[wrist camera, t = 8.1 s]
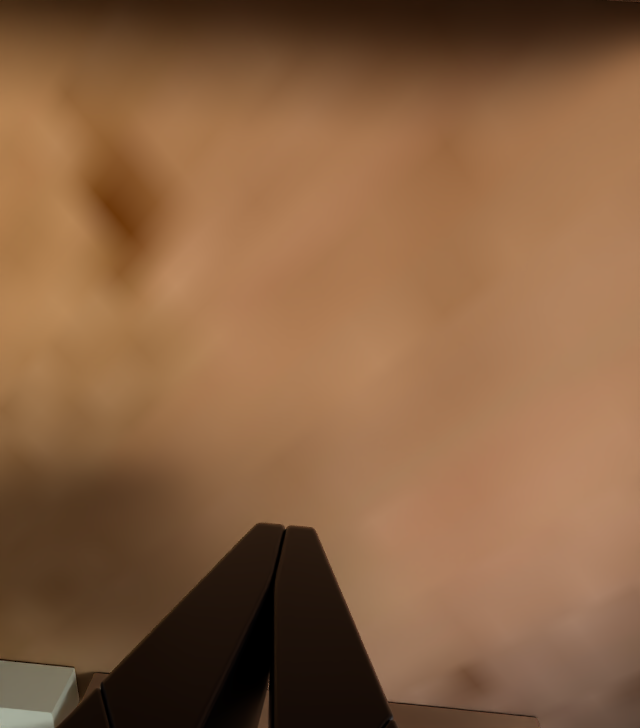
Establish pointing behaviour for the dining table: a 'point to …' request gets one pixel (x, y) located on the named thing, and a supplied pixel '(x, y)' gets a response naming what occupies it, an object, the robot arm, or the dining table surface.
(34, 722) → the frame
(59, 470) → the dining table surface
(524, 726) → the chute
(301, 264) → the dining table surface
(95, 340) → the dining table surface
